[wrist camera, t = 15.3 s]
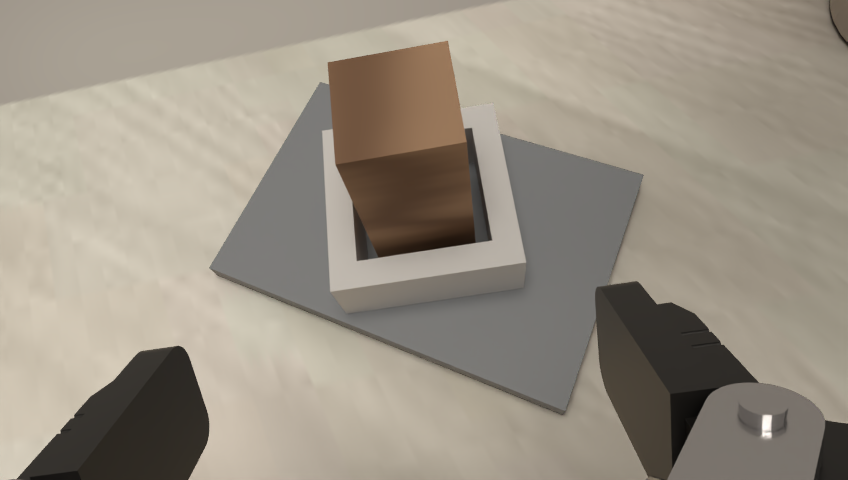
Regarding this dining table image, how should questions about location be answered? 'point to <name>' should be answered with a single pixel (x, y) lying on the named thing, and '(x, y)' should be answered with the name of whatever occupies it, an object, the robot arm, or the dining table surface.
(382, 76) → the walnut peg
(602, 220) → the socket plate
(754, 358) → the dining table surface
